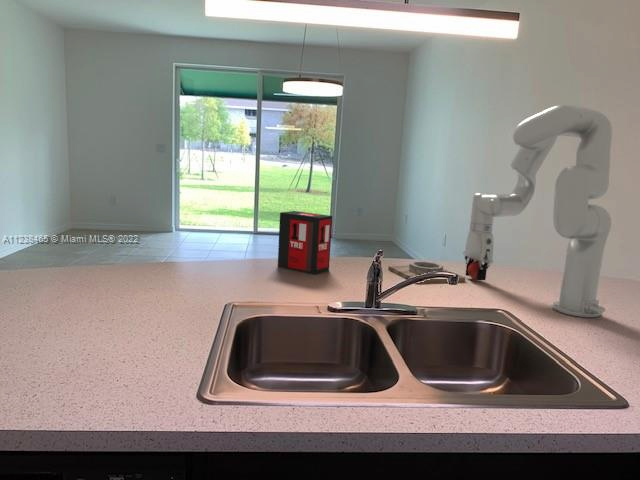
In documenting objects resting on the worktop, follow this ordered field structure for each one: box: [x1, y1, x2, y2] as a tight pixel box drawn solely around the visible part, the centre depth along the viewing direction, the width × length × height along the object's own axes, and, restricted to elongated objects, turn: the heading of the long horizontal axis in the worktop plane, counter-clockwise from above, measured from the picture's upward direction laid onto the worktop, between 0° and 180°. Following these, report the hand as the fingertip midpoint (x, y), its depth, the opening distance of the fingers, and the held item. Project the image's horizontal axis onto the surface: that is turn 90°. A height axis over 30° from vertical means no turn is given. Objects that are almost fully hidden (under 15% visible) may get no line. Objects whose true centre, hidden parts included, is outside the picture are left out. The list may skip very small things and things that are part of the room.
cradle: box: [387, 260, 466, 284], centre depth 183 cm, size 20×20×4 cm
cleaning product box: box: [277, 210, 333, 276], centre depth 181 cm, size 16×9×20 cm, turn 58°
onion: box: [468, 260, 480, 282], centre depth 180 cm, size 6×6×8 cm
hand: (475, 277), depth 180 cm, fingers closed on onion, 5 cm apart
